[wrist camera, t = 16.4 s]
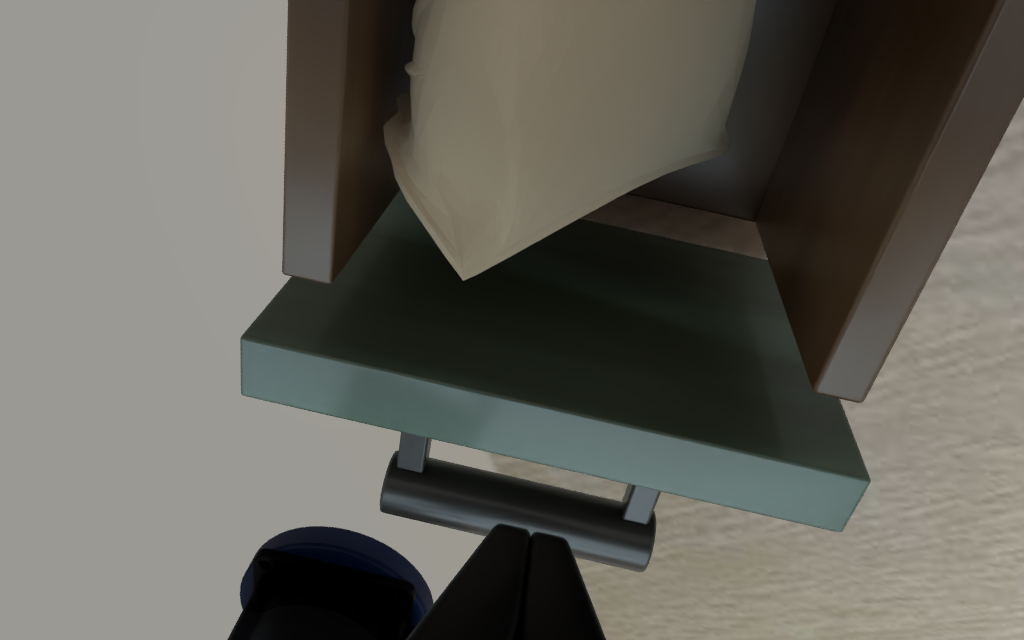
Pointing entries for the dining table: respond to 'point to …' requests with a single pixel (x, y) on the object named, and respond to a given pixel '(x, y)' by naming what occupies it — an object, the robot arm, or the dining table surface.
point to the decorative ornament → (555, 111)
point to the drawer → (637, 277)
